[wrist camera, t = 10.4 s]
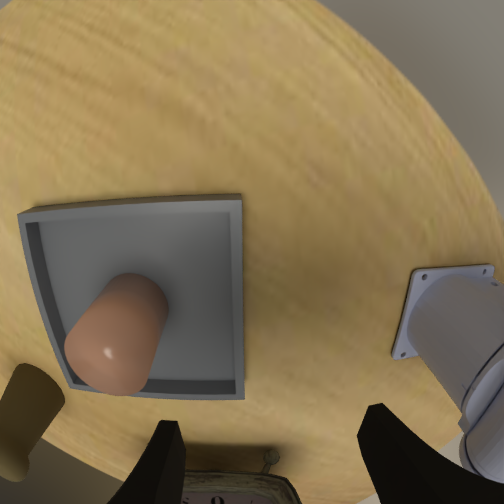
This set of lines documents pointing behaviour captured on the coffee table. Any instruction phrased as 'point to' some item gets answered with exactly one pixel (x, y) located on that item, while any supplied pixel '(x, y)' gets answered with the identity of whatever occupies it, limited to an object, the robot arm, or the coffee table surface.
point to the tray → (156, 269)
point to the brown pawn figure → (25, 417)
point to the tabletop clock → (239, 486)
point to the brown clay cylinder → (119, 335)
